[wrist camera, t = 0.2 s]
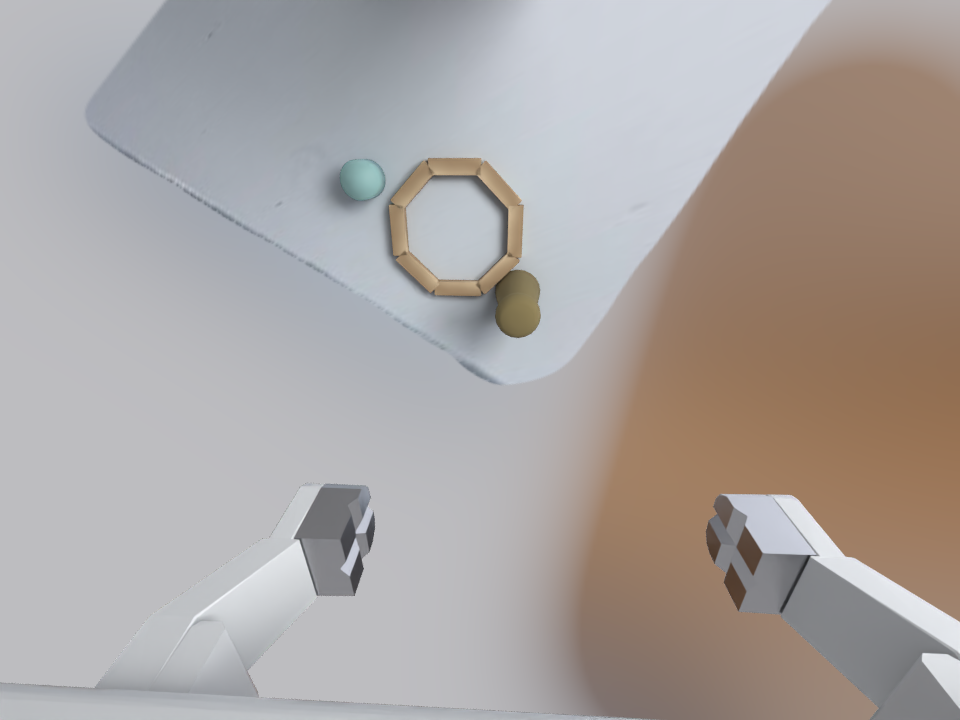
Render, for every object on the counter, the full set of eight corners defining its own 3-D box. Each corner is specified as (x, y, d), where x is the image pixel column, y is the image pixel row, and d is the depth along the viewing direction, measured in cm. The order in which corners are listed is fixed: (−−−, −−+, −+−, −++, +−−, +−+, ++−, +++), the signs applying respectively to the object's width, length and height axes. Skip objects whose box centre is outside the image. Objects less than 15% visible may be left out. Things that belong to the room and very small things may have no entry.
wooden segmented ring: (387, 158, 51) (384, 158, 50) (525, 158, 49) (525, 158, 48) (399, 291, 58) (396, 294, 57) (519, 294, 57) (519, 296, 56)
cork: (490, 306, 58) (484, 337, 48) (502, 264, 55) (499, 288, 45) (532, 318, 58) (535, 351, 48) (546, 276, 55) (552, 303, 46)
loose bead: (348, 159, 51) (337, 159, 48) (383, 159, 51) (374, 159, 48) (353, 197, 53) (342, 200, 50) (387, 198, 53) (378, 200, 50)
